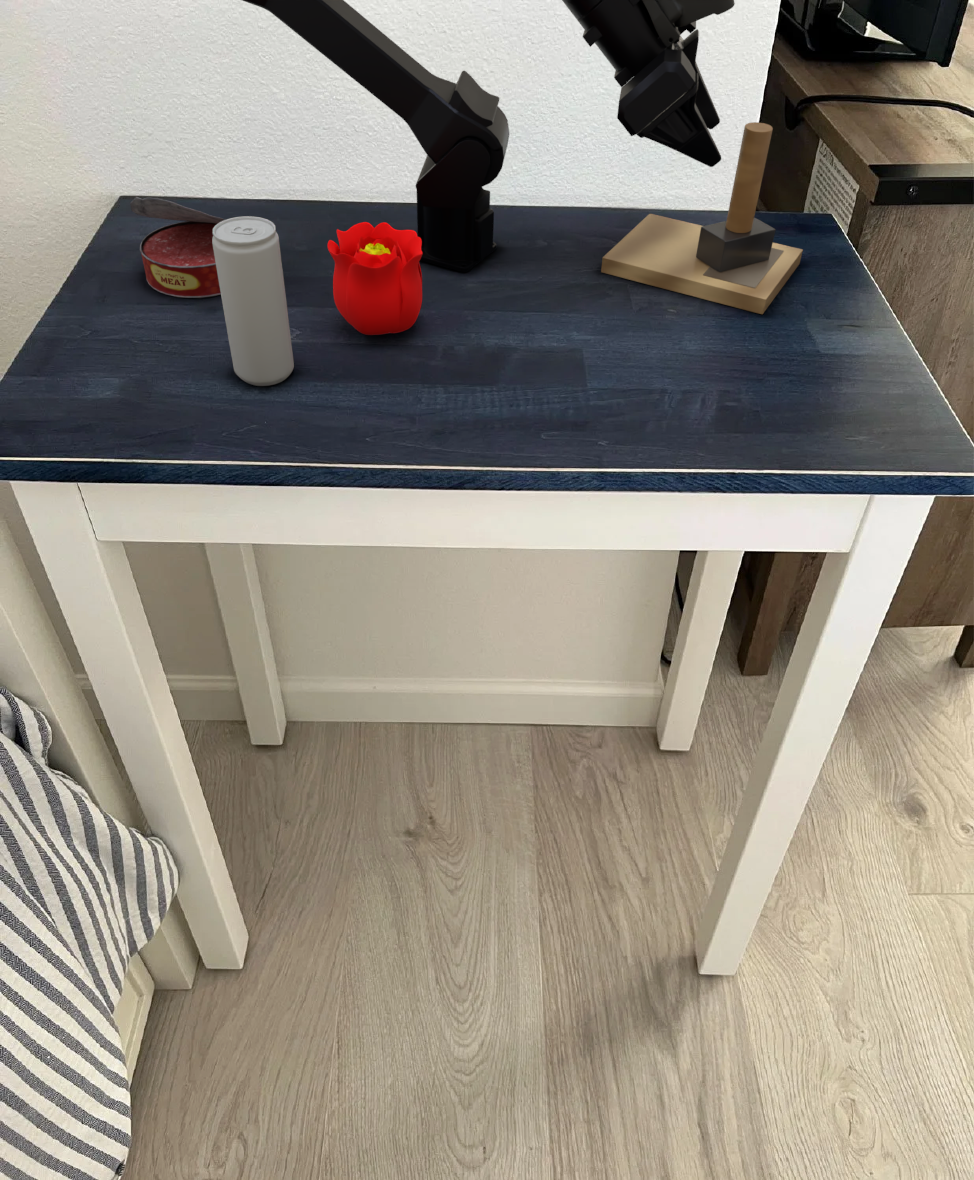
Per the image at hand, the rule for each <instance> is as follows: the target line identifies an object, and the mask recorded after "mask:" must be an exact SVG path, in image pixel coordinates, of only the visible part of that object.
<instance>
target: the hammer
mask: <svg viewBox="0 0 974 1180" xmlns="http://www.w3.org/2000/svg"><path fill="white" fill-rule="evenodd" d="M773 129H774V128H773V126H772V125H770V124H768V123H764V122H747V123H745V125H744V128H743V132H742V133H743V134H742V139H741V144H740V149H739V155H738V159H737V160H738V161H737V165H736V169H735V173H734V180H733V186H732V190H731V194H730V195H731V197H730V201H729V206H728V211H727V216H726V220H724V221H720V222H715V223H712V224H707V225H701V226H702V227H701V230H700V236H699V242H698V248H697V253H696V258H698V259H699V260H701V261H703V262H704V263H706V264H707V265H709V266H710V267H712V268H713V269H715V270H717V271H718V272H723V271H727V270H731V269H735V268H739V267H743V266H747V265H750V264H754V263H758V262H762V261H766V260H769V257H770V252H771V248H772V244H773V243H774V239H775V235H776V228H774V227H772V226H771V225H769V224H767V223H766V222H763V221H762V220H760V219H758V218H756V217H755V215H756V210H757V205H758V202H759V195H760V191H761V186H762V182H763V177H764V173H765V168H766V164H767V159H768V154H769V149H770V144H771V139H772V135H773Z"/></svg>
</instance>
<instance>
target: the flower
mask: <svg viewBox="0 0 974 1180" xmlns="http://www.w3.org/2000/svg"><path fill="white" fill-rule="evenodd" d="M336 236H337V240H338V243H336V242H335V241H334V240H332V239H329V240H328V242H327V250H328V252H329V254H330V256H331V258H332V259H333V261H334V269H333V270H334V271H333V277H332V288H333V289H332V293H333V301H334V304H335V307H336V310H338V312H339V313H340V315H341V316H342V317H343V319H344V320H345V321H346V322H347V323H348V324H349V325H351V326H352V327H353V328H354V330H356V331H357V332H359V333H360V334H362V335H365V336H379V335H380V336H381V335H386V334H399V333H403V332H405V331H407V330H409V329H411V328H412V327H413V326H414V325H415V323H416V321H417V320H418V317H419V314H420V311H421V308H422V304H423V274H422V268H421V264H420V261H421V260H420V259H421V257H422V254H423V252H422V250H421V246H422V240H421V238H420V237H418V232H416V231H415V230H414V229H395V228H393V227H392V226H391V225H390V224H389V223H388V222H385V221H383V222H380V223H378V224H377V225H375V227H374V225H372V224H371V223H370V222H367V221H363V222H359V223H358V222H357V223H356V224H353V225H352V226H351V227H349V228H348V229H347V230H345V231H343V230H340V229H339V228H337V229H336Z"/></svg>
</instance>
